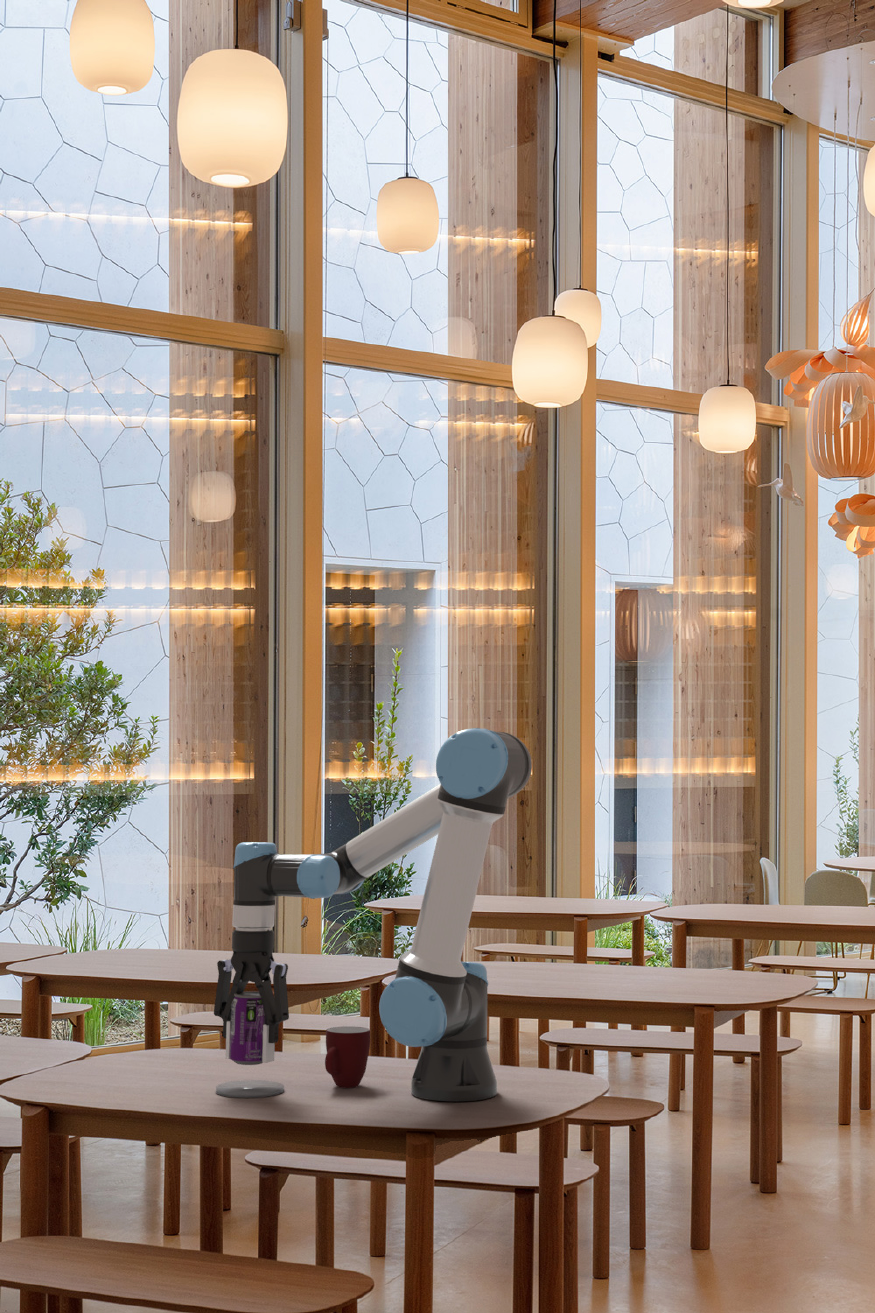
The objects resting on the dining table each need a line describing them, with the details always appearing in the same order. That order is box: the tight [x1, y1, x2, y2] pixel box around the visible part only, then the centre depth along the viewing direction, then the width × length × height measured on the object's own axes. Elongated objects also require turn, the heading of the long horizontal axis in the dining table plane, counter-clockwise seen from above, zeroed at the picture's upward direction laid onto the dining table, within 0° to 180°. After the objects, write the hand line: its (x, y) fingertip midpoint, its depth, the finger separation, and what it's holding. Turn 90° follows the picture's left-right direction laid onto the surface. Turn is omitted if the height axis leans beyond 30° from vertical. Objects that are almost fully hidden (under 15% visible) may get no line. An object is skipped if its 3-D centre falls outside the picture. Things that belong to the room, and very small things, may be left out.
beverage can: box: [229, 991, 267, 1066], centre depth 249 cm, size 7×7×12 cm
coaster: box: [215, 1079, 285, 1099], centre depth 248 cm, size 12×12×1 cm
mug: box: [324, 1025, 371, 1089], centre depth 252 cm, size 11×8×10 cm
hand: (249, 1059), depth 248 cm, fingers closed on beverage can, 7 cm apart
